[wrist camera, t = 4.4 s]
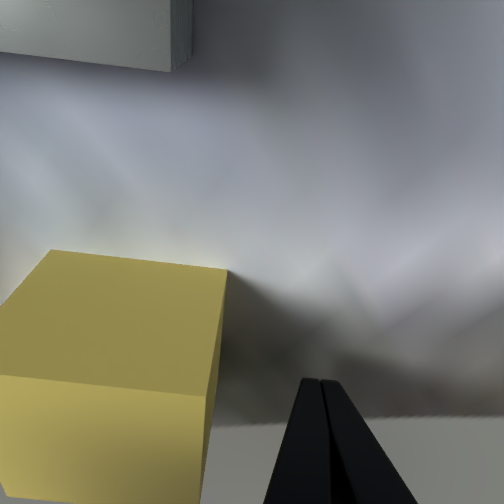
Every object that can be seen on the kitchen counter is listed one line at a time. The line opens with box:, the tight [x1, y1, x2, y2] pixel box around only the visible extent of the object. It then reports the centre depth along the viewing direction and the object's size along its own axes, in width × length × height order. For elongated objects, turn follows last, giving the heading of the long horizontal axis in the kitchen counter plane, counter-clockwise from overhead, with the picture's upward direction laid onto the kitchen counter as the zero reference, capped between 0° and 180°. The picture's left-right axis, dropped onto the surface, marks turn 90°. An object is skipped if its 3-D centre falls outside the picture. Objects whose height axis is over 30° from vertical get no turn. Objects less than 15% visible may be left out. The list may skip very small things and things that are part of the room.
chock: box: [0, 250, 227, 504], centre depth 9 cm, size 4×4×4 cm
